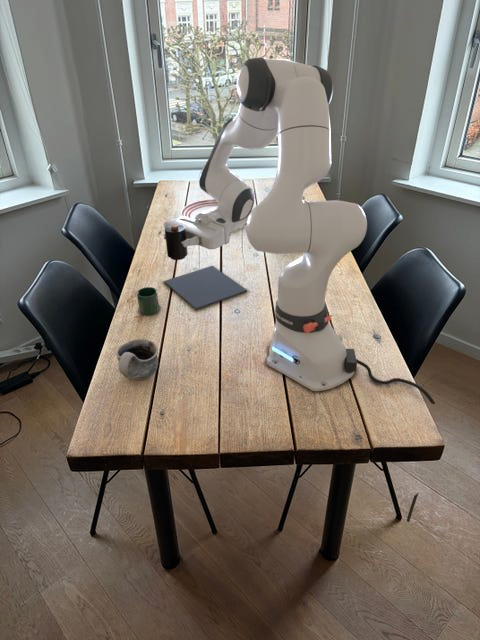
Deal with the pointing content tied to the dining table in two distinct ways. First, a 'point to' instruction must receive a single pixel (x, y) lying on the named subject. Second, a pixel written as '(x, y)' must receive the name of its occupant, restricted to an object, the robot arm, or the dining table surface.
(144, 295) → the glass
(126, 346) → the mug
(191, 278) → the mat
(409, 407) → the dining table surface
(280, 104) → the robot arm
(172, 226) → the black canister with knob
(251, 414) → the dining table surface
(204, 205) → the dinner plate
